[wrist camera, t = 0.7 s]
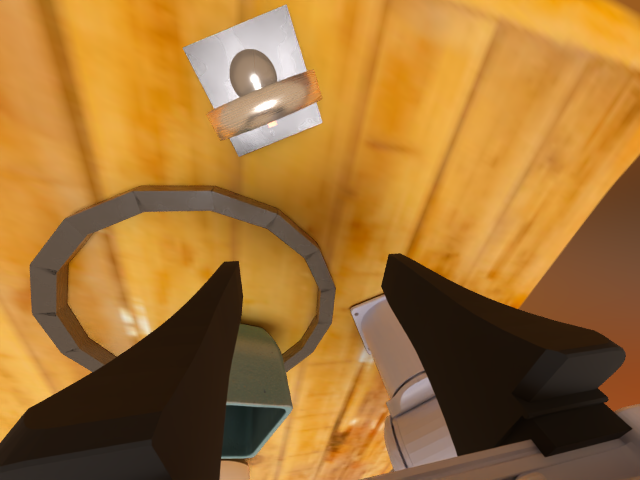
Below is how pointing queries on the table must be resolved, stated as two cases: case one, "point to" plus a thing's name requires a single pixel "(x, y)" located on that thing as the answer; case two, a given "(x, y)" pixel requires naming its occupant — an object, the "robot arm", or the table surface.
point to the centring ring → (78, 227)
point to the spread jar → (234, 469)
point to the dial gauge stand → (256, 81)
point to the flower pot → (254, 394)
